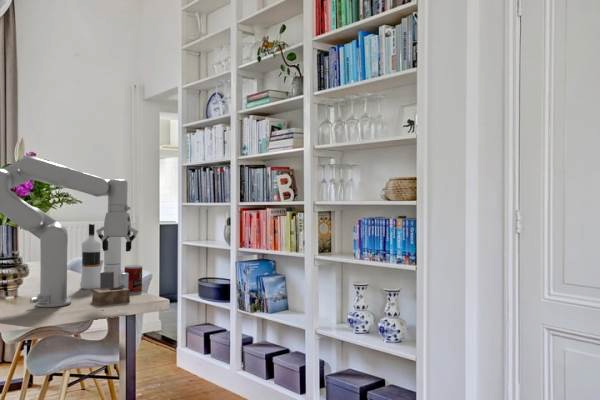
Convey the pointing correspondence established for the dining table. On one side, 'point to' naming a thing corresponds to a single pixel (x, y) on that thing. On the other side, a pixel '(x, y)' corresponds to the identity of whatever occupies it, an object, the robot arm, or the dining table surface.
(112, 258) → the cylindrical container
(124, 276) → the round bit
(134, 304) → the dining table surface
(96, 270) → the vodka
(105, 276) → the square bit
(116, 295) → the bore block
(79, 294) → the dining table surface
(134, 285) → the canned food
